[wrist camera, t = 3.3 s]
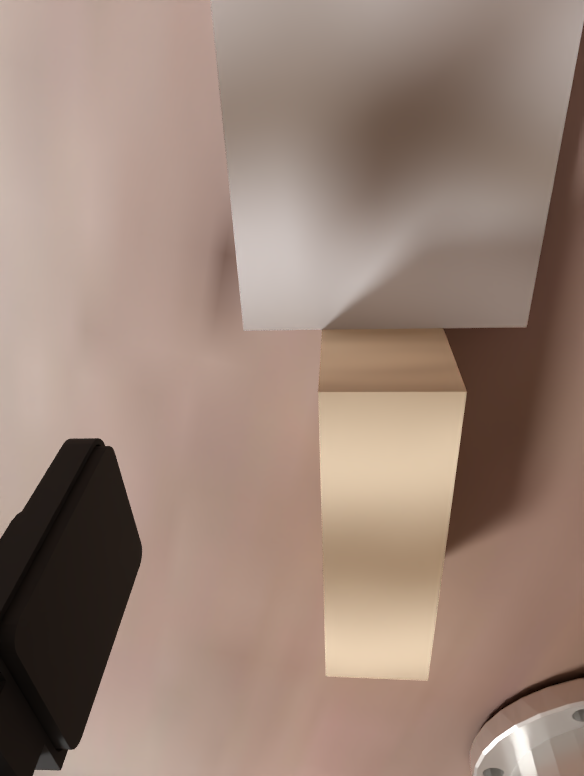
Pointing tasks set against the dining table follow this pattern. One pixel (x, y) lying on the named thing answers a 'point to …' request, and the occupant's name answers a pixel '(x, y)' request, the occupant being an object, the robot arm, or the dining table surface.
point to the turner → (390, 254)
